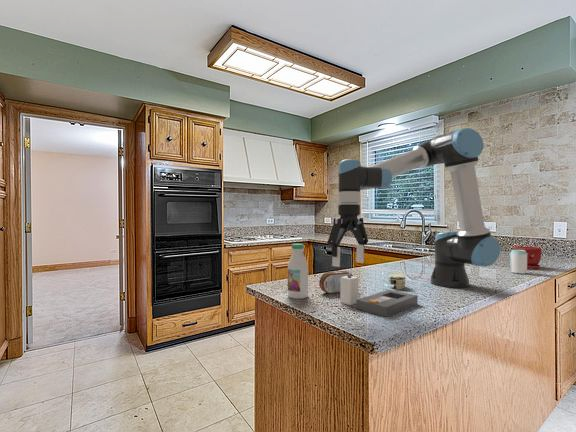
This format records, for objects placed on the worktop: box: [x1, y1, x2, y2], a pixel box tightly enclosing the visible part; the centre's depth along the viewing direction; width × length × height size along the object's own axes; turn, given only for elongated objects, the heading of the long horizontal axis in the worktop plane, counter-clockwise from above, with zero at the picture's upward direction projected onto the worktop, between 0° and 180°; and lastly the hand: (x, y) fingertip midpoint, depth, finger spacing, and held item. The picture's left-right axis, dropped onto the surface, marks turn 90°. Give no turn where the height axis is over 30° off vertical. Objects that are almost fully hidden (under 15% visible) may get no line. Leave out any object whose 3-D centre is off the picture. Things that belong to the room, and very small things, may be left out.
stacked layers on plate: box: [387, 273, 407, 290], centre depth 133 cm, size 10×9×6 cm
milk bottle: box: [287, 243, 309, 300], centre depth 119 cm, size 8×8×20 cm
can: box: [509, 250, 528, 275], centre depth 163 cm, size 7×7×12 cm
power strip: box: [355, 289, 419, 318], centre depth 106 cm, size 20×11×4 cm, turn 131°
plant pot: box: [511, 246, 542, 270], centre depth 178 cm, size 13×13×12 cm
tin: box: [318, 270, 354, 295], centre depth 125 cm, size 15×3×8 cm, turn 113°
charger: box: [339, 273, 359, 306], centre depth 111 cm, size 4×4×10 cm
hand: (348, 264), depth 110 cm, fingers open, 13 cm apart
